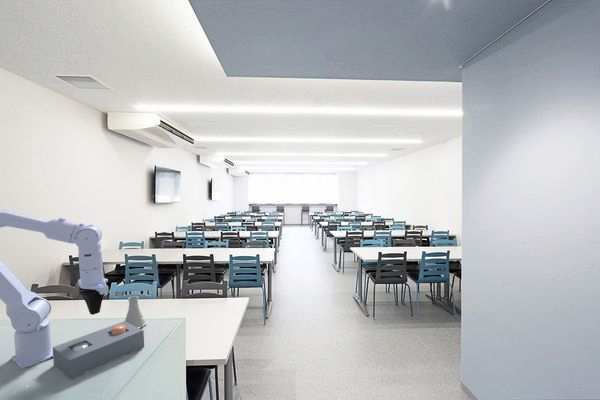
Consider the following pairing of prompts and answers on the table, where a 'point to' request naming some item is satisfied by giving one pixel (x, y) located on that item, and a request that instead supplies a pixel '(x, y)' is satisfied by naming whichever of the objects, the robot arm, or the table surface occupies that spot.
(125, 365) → the table surface
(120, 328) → the terracotta plug
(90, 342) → the plug panel
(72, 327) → the table surface
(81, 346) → the steel plug
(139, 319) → the flask
